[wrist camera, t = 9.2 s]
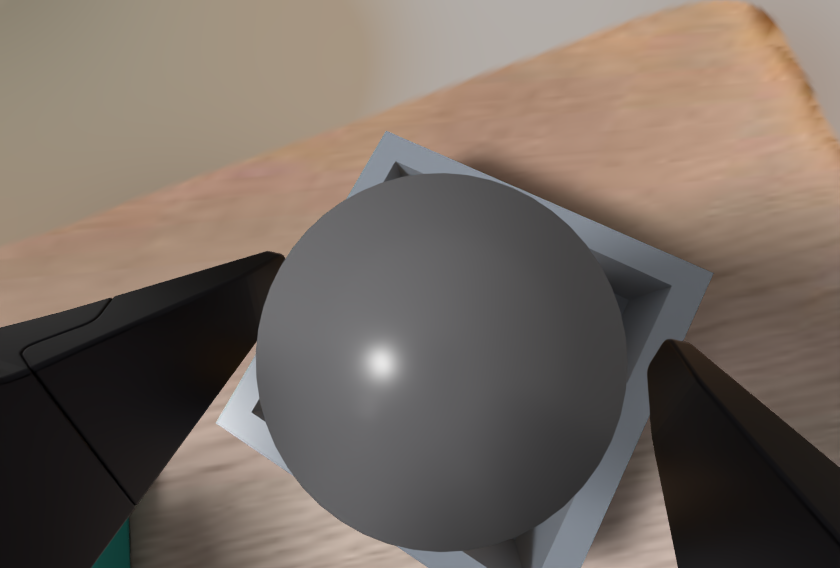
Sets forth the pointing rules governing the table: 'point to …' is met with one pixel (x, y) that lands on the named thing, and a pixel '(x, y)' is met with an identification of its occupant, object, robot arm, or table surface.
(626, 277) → the box
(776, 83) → the table surface
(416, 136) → the table surface
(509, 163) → the table surface
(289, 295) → the grey capped shaker bottle
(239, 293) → the robot arm
